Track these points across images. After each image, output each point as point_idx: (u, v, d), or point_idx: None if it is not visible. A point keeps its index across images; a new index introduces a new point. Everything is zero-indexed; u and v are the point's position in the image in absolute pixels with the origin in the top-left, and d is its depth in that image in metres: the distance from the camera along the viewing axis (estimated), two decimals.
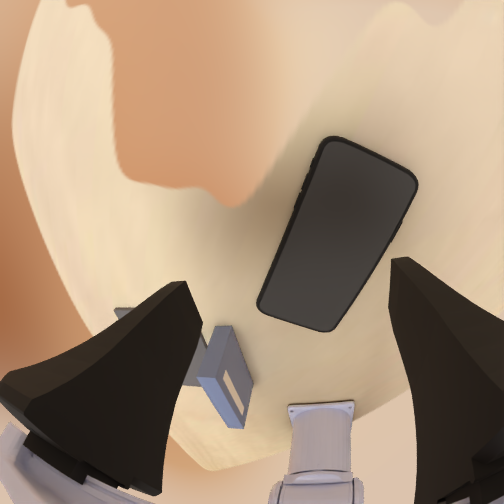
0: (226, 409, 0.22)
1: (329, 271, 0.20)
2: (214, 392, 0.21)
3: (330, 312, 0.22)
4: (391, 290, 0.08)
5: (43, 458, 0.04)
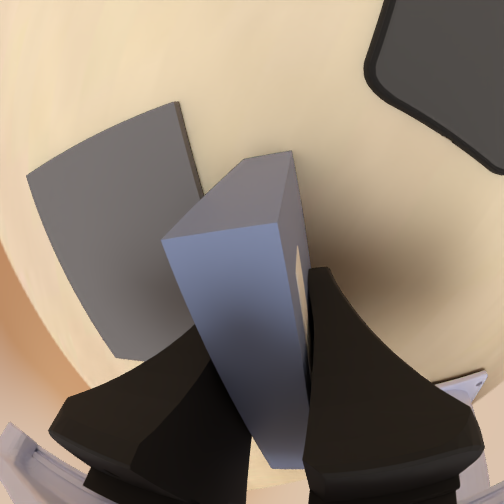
0: (286, 424, 0.06)
1: (493, 18, 0.04)
2: (252, 348, 0.04)
3: None
4: None
5: (122, 503, 0.03)
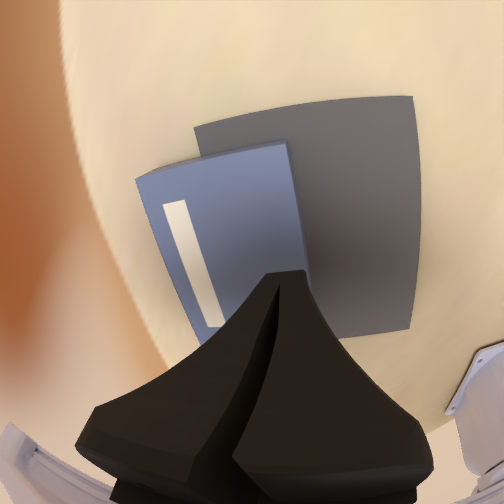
0: None
1: None
2: None
3: None
4: None
5: None
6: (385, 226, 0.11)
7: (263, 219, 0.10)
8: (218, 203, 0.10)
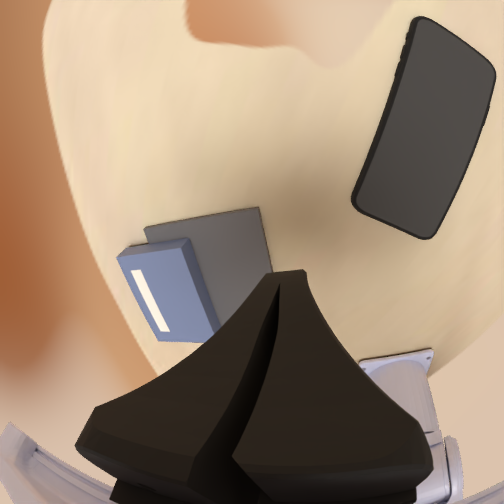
0: None
1: (433, 152, 0.14)
2: None
3: (433, 209, 0.16)
4: None
5: None
6: (249, 281, 0.21)
7: (177, 281, 0.20)
8: (155, 272, 0.20)
